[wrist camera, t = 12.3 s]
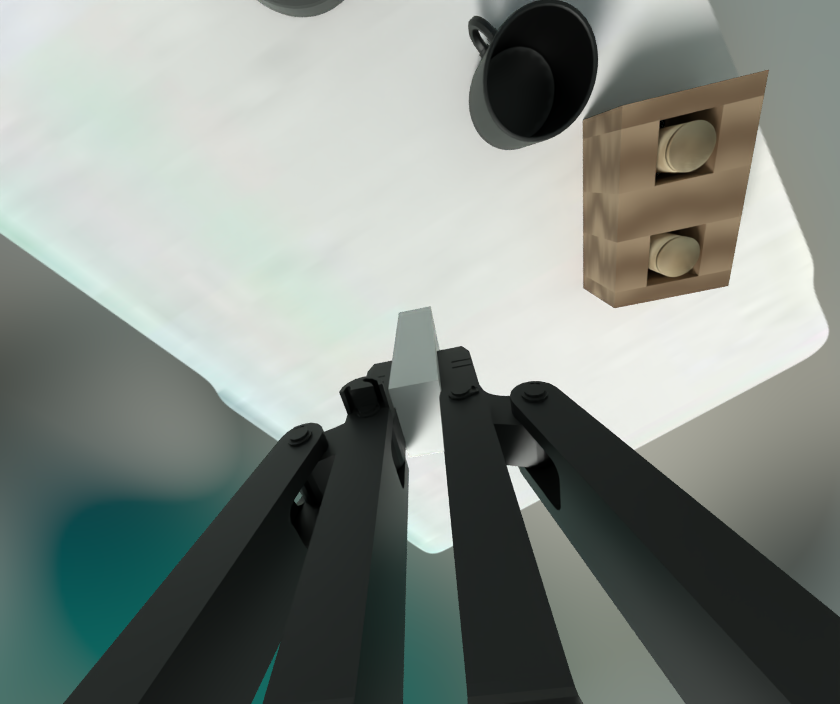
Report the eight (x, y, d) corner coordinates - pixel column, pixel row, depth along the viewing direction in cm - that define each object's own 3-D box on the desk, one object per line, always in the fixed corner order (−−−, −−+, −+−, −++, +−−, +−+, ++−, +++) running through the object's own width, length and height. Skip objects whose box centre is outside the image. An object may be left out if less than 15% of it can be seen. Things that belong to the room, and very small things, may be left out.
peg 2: (618, 231, 42) (660, 241, 35) (653, 223, 42) (702, 232, 34) (617, 264, 44) (657, 280, 36) (650, 257, 43) (697, 272, 36)
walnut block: (582, 120, 37) (622, 105, 30) (699, 91, 36) (768, 69, 29) (583, 288, 46) (614, 308, 38) (678, 268, 45) (728, 285, 37)
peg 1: (622, 136, 38) (671, 126, 30) (661, 127, 37) (719, 114, 30) (621, 177, 39) (666, 176, 32) (658, 169, 39) (712, 166, 32)
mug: (498, -9, 33) (524, -71, 25) (576, 93, 36) (622, 68, 28) (431, 84, 36) (436, 56, 28) (510, 169, 39) (534, 167, 31)
